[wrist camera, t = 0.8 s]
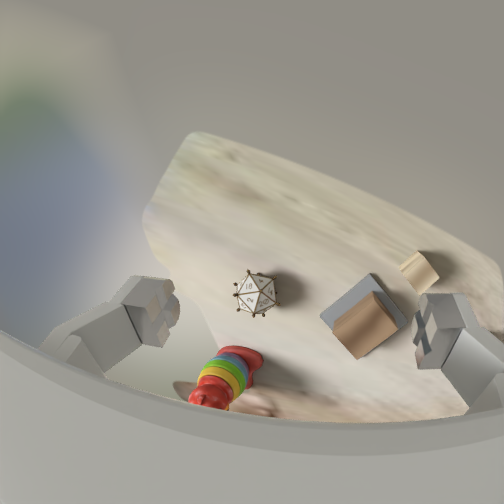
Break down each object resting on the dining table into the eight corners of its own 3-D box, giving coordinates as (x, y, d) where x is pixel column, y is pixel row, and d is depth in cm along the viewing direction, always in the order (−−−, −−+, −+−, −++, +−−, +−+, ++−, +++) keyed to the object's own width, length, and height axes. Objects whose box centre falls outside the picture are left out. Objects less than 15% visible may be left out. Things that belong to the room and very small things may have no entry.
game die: (271, 273, 60) (284, 262, 50) (276, 315, 58) (291, 313, 48) (226, 277, 58) (231, 267, 48) (231, 321, 56) (237, 319, 46)
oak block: (430, 268, 46) (439, 277, 40) (412, 285, 47) (419, 295, 42) (416, 250, 46) (424, 257, 41) (398, 267, 48) (404, 275, 42)
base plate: (407, 319, 49) (408, 322, 48) (358, 356, 53) (358, 359, 52) (369, 273, 50) (369, 274, 49) (320, 314, 54) (319, 316, 53)
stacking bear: (249, 390, 62) (218, 441, 46) (210, 370, 65) (171, 414, 48) (266, 356, 59) (235, 408, 43) (223, 334, 61) (181, 378, 45)
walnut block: (394, 317, 48) (398, 329, 44) (357, 346, 51) (357, 359, 47) (372, 290, 49) (374, 300, 44) (334, 321, 52) (332, 332, 47)
